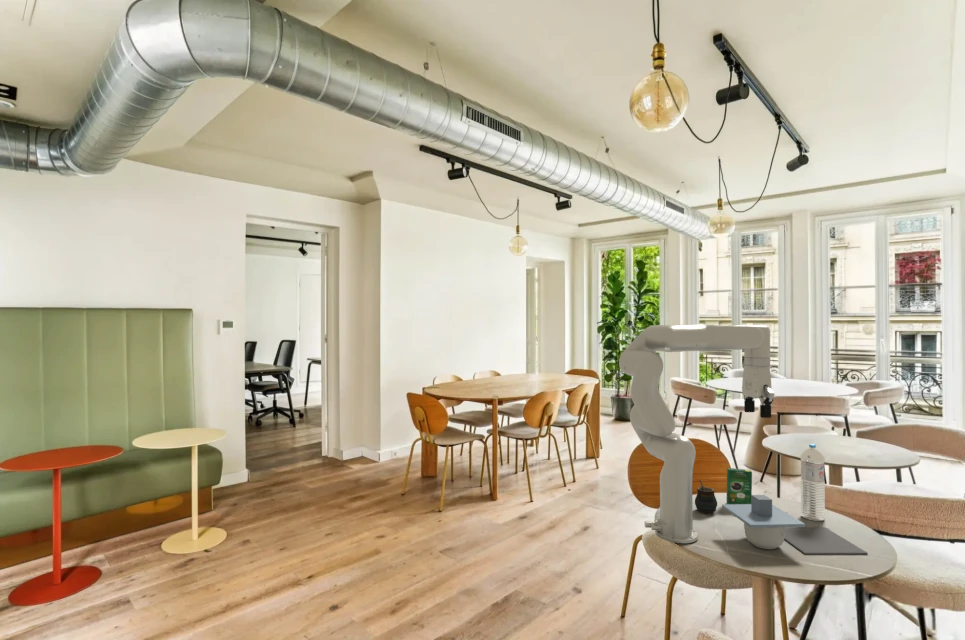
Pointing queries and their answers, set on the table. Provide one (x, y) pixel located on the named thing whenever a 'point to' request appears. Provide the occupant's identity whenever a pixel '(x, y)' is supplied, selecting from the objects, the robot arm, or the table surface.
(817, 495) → the water bottle
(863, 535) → the table surface
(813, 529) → the mat
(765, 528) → the teacup
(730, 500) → the coffee box
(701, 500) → the mate gourd
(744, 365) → the robot arm
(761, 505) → the lid
